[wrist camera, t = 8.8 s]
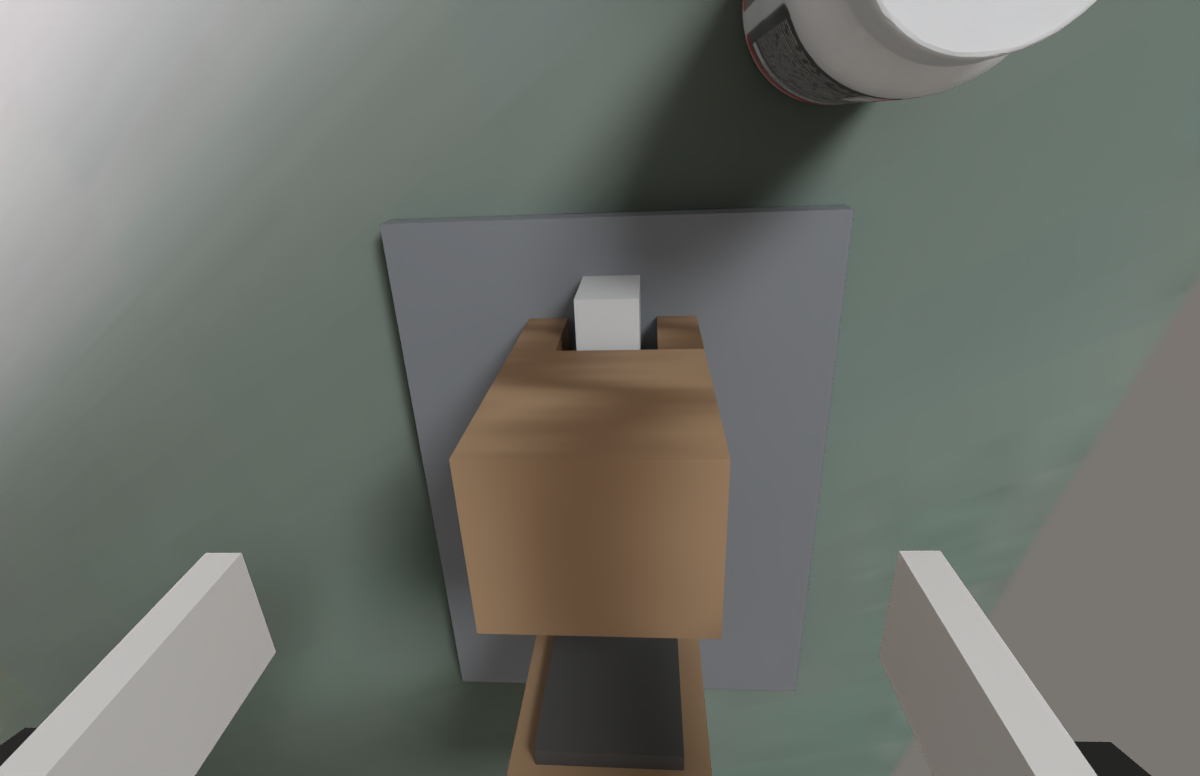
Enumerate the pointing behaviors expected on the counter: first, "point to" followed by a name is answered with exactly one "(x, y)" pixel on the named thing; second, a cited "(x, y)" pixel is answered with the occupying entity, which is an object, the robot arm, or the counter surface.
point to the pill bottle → (891, 43)
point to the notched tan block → (596, 490)
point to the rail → (748, 413)
